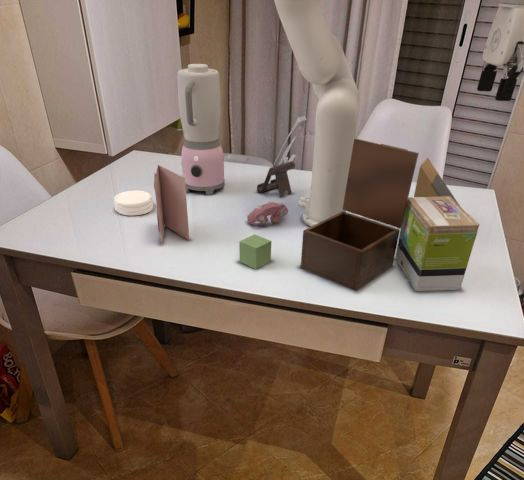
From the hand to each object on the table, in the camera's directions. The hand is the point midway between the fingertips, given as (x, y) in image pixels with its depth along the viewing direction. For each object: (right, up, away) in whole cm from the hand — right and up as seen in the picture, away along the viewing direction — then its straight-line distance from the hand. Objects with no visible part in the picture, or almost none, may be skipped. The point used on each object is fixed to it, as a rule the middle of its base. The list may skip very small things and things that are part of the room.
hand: (492, 95), depth 107 cm
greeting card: (-71, -27, +15) cm, 78 cm away
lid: (-26, -20, -3) cm, 33 cm away
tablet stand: (-46, -8, +39) cm, 61 cm away
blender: (-68, -8, +40) cm, 79 cm away
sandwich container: (-3, -22, +23) cm, 32 cm away
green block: (-51, -35, +4) cm, 62 cm away
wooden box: (-31, -37, +3) cm, 48 cm away
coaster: (-84, -17, +27) cm, 90 cm away
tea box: (-14, -39, +1) cm, 41 cm away
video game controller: (-48, -22, +21) cm, 57 cm away
